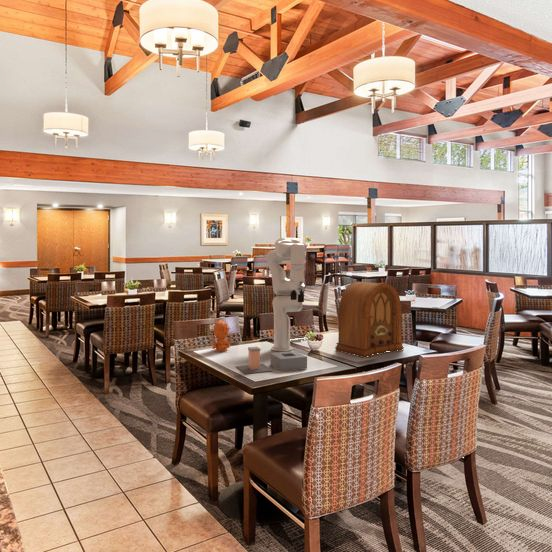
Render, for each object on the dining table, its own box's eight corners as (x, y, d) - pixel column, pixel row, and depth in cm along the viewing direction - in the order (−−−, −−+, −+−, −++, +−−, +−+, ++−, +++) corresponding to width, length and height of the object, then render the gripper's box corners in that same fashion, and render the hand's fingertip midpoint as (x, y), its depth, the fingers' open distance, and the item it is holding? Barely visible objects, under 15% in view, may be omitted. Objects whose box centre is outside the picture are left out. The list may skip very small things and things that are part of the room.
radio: (364, 358, 260) (365, 284, 257) (335, 350, 279) (335, 282, 276) (403, 350, 279) (405, 282, 277) (373, 343, 298) (374, 279, 296)
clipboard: (283, 332, 332) (311, 338, 308) (283, 334, 332) (311, 341, 308) (260, 335, 320) (288, 342, 296) (260, 337, 320) (288, 345, 296)
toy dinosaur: (227, 347, 285) (227, 317, 283) (233, 351, 275) (233, 320, 274) (209, 349, 280) (208, 319, 279) (215, 353, 270) (214, 321, 269)
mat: (236, 367, 239) (236, 366, 239) (262, 364, 244) (262, 363, 244) (244, 374, 226) (244, 373, 226) (272, 371, 231) (272, 370, 231)
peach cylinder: (248, 367, 236) (248, 347, 236) (257, 366, 238) (257, 346, 238) (251, 369, 232) (251, 349, 231) (260, 368, 234) (260, 348, 233)
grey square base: (270, 364, 245) (270, 353, 244) (295, 362, 250) (295, 350, 249) (280, 371, 232) (280, 359, 231) (307, 368, 237) (307, 356, 236)
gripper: (284, 267, 252) (284, 299, 253) (297, 268, 236) (296, 303, 237) (297, 266, 255) (297, 298, 256) (311, 268, 238) (310, 302, 240)
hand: (297, 300), depth 247 cm, fingers open, 9 cm apart
